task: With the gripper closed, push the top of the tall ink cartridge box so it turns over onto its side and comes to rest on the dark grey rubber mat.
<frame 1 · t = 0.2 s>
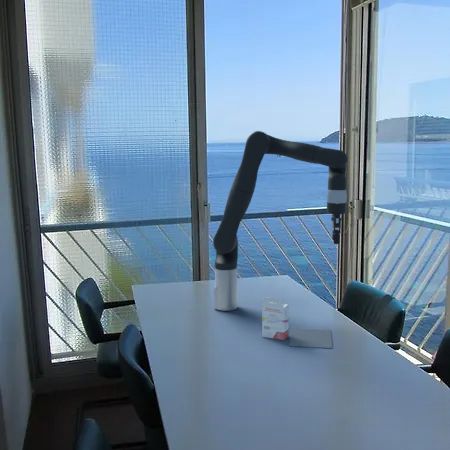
hand: (335, 241, 199), 29 cm above the table, tool pointing down, fingers open, 8 cm apart
ink cartridge box: (275, 337, 178), on the table
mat: (311, 338, 175), on the table
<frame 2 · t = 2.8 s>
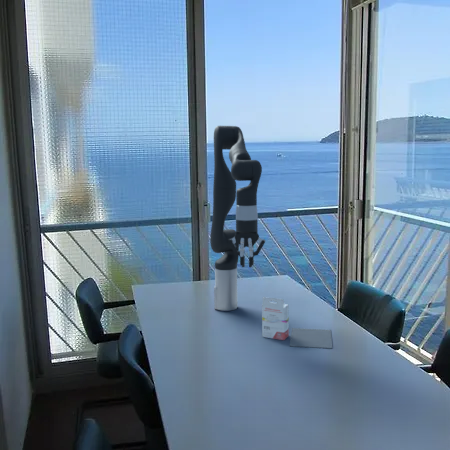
hand: (247, 266, 176), 25 cm above the table, tool pointing down, fingers closed
nothing on the table moved.
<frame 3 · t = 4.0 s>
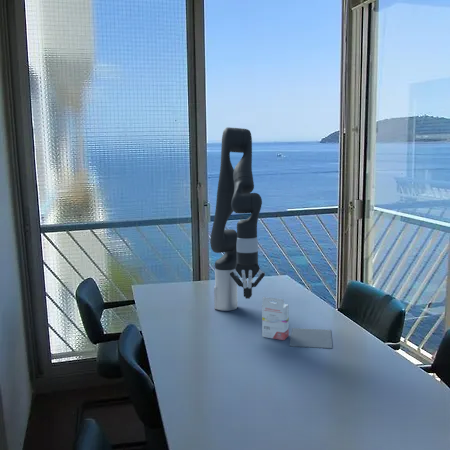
hand: (247, 297, 177), 14 cm above the table, tool pointing down, fingers closed
nothing on the table moved.
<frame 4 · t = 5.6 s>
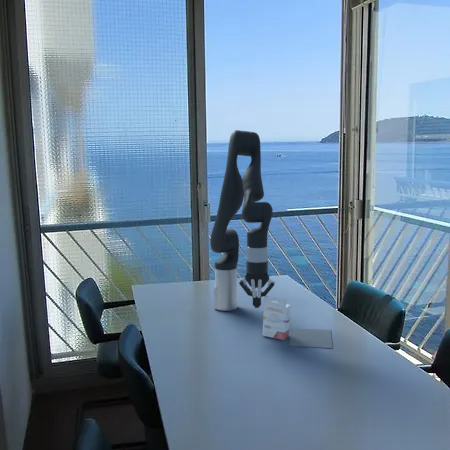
hand: (257, 307, 177), 11 cm above the table, tool pointing down, fingers closed
ink cartridge box: (275, 336, 178), on the table, touching gripper, hand
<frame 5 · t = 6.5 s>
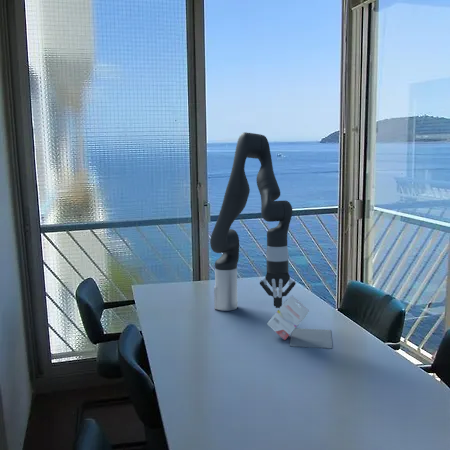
hand: (278, 307, 174), 11 cm above the table, tool pointing down, fingers closed
ink cartridge box: (277, 330, 177), point 2 cm above the table, touching gripper
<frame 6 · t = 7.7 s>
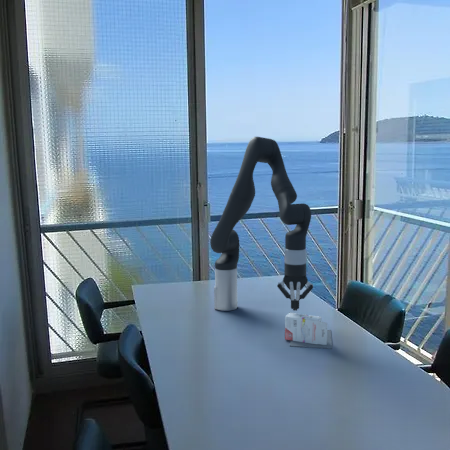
hand: (295, 309, 175), 10 cm above the table, tool pointing down, fingers closed
ink cartridge box: (286, 325, 175), point 5 cm above the table, touching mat
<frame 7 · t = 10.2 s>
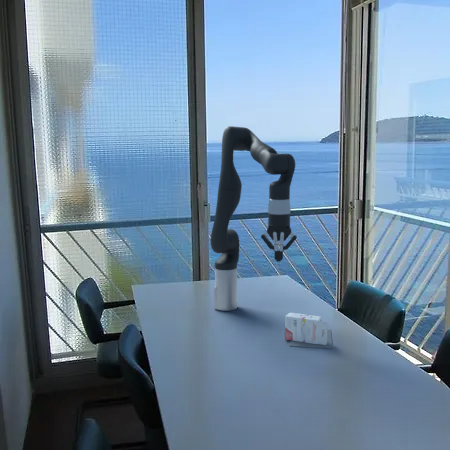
hand: (278, 261, 175), 27 cm above the table, tool pointing down, fingers closed
nothing on the table moved.
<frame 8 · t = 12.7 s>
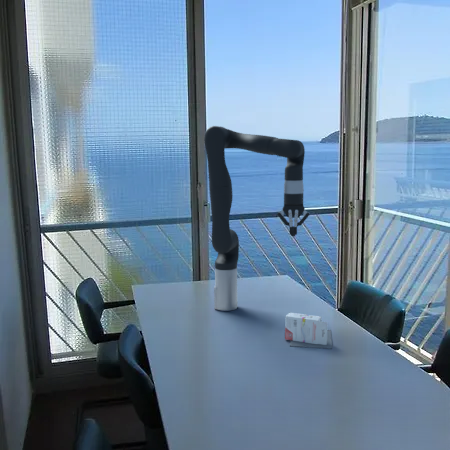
hand: (293, 236, 196), 32 cm above the table, tool pointing down, fingers closed
nothing on the table moved.
at the end: ink cartridge box tilted 91°; ink cartridge box touching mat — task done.
